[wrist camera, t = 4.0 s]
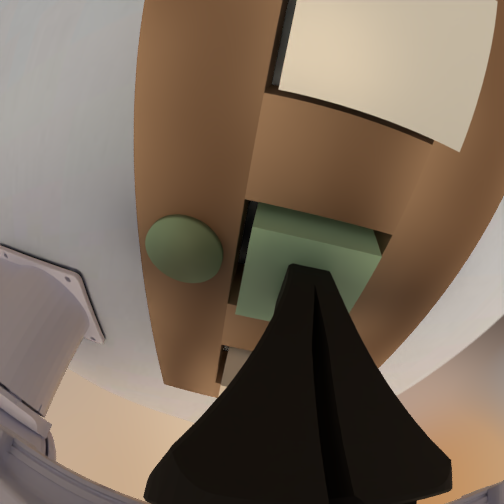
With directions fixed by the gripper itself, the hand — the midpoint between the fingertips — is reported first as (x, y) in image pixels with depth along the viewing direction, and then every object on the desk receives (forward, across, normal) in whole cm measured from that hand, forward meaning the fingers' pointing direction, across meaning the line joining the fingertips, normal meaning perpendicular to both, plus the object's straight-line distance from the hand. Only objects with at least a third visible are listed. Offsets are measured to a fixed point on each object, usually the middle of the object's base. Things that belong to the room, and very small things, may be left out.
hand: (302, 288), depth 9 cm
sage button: (+3, 0, 0) cm, 3 cm away
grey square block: (+2, 0, -8) cm, 8 cm away
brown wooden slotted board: (+3, 0, 0) cm, 3 cm away
